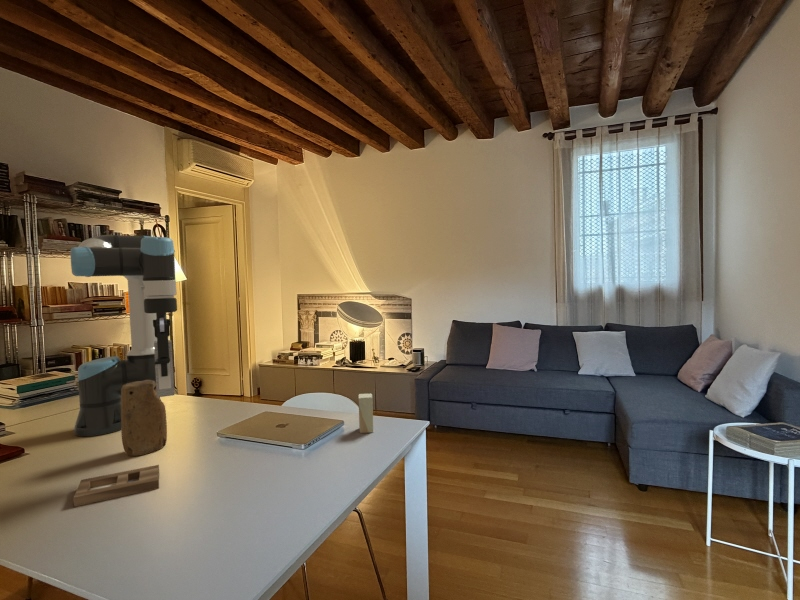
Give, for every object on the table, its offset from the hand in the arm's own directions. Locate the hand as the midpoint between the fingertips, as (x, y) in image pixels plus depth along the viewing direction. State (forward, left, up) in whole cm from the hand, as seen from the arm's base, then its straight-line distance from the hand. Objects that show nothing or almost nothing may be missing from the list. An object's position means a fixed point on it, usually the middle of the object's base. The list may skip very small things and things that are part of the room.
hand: (165, 386), depth 115 cm
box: (+5, +55, -21) cm, 59 cm away
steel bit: (0, 0, -2) cm, 2 cm away
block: (-15, -6, -21) cm, 26 cm away
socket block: (+10, -10, -21) cm, 25 cm away
